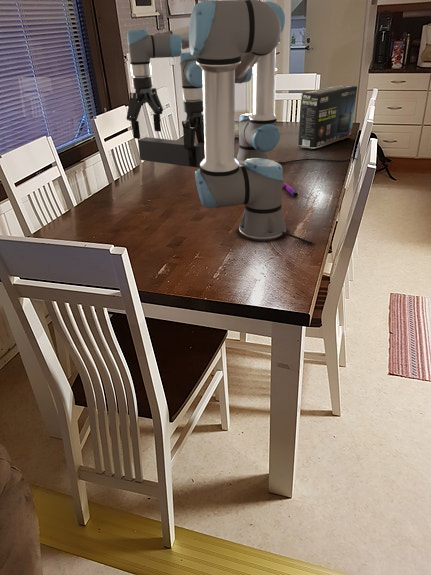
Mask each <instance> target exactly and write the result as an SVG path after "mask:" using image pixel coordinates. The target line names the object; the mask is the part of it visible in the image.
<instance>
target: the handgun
mask: <svg viewBox="0 0 431 575" xmlns="http://www.w3.org/2000/svg"><path fill="white" fill-rule="evenodd" d="M283 189H286V191H287V192H289V193H290V195H291V196H292V197H293V198H298V196H299V194H298V192H297V191H296V190H295V189H294V188H293V187H292V186H291V185H289V184H288V183H287V182H286V181H285V180H284V179H283V183H282V190H283Z"/></svg>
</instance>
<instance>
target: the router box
mask: <svg viewBox="0 0 431 575" xmlns="http://www.w3.org/2000/svg"><path fill="white" fill-rule="evenodd" d="M357 93H358V86H356V85H350V84H339V85H338V84H337V85H334V86H328V87H324V88H318V89H314V90H309V91H304V92H301V93H300V109H299V110H300V111H299V124H298V137H297V146H298V145H302V146H307V147H317V146H320V145H323V144H325V143H328V142H331V141H333V140H336V139H338V138H341V137H344V136H347V135H351V136H352V133H353V132H352V131H353V125H354V115H355V109H356V99H357ZM311 151H313V150H312V149H311Z"/></svg>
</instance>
